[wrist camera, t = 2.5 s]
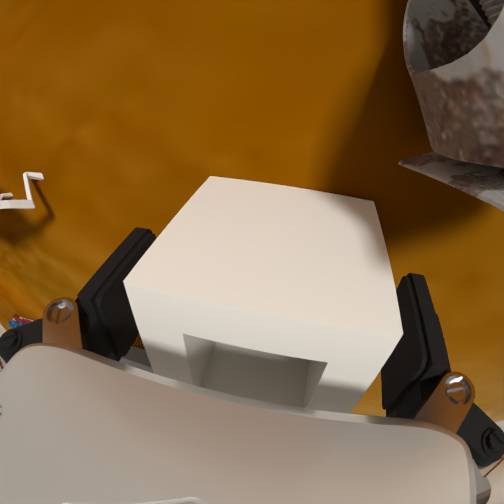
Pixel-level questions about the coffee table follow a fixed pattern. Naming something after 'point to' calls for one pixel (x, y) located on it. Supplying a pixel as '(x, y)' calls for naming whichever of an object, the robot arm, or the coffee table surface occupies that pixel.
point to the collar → (269, 295)
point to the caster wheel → (459, 92)
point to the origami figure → (29, 202)
